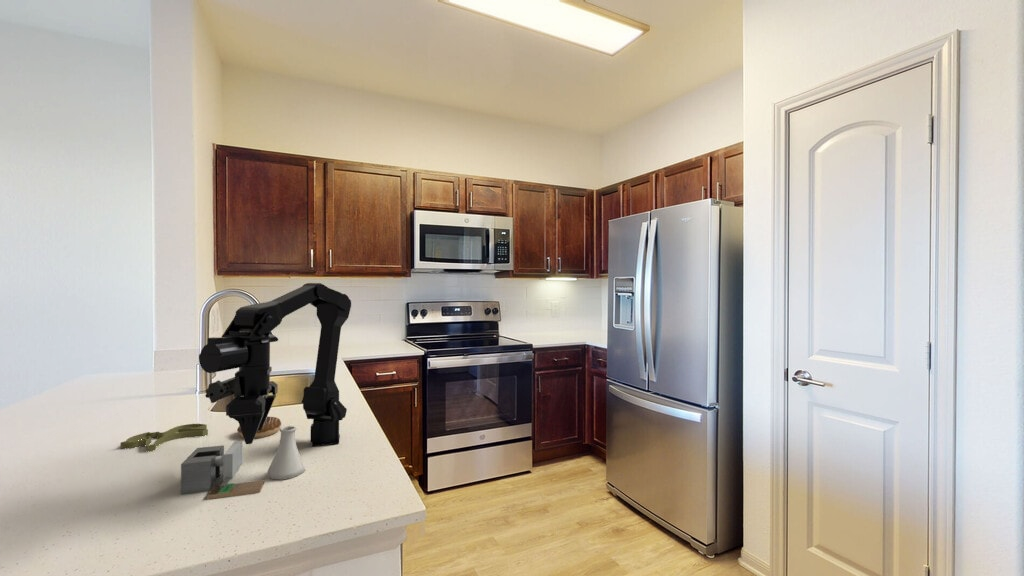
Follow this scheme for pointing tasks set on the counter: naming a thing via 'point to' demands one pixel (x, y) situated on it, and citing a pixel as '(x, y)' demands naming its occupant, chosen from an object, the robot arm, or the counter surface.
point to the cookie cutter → (165, 436)
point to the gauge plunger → (230, 461)
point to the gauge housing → (211, 475)
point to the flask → (286, 456)
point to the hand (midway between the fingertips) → (254, 436)
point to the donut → (266, 427)
